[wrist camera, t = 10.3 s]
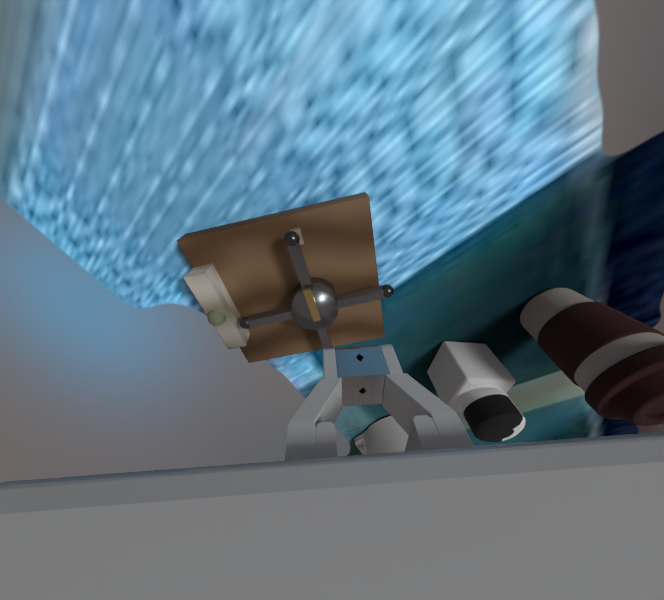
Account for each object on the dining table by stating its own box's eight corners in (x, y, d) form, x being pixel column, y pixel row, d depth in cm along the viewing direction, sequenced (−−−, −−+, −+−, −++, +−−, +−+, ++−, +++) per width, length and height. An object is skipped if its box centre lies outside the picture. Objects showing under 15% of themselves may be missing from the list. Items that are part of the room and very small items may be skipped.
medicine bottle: (425, 371, 40) (462, 448, 30) (442, 339, 36) (491, 416, 26) (465, 373, 41) (513, 448, 31) (485, 342, 37) (548, 417, 27)
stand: (381, 326, 34) (391, 355, 30) (251, 352, 35) (243, 383, 31) (365, 192, 24) (376, 204, 20) (185, 234, 25) (158, 254, 21)
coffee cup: (508, 342, 38) (604, 444, 25) (507, 293, 32) (628, 392, 20) (578, 321, 36) (717, 418, 24) (589, 265, 31) (778, 353, 18)
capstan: (379, 201, 23) (388, 211, 20) (394, 334, 32) (401, 353, 30) (208, 245, 24) (194, 259, 21) (271, 360, 34) (267, 380, 31)
